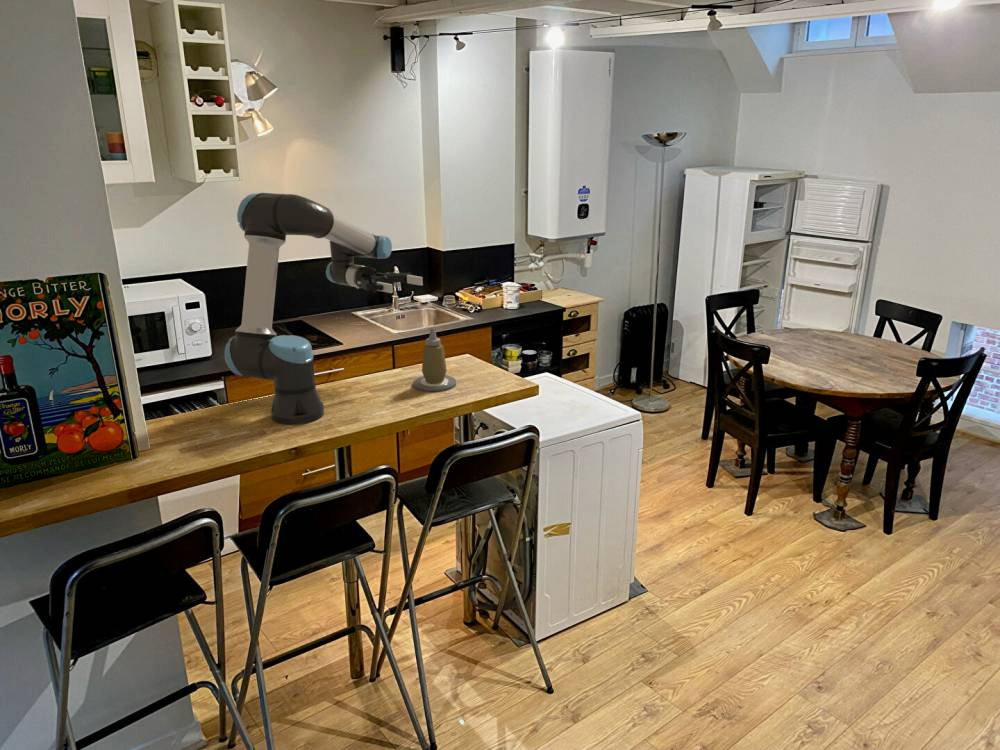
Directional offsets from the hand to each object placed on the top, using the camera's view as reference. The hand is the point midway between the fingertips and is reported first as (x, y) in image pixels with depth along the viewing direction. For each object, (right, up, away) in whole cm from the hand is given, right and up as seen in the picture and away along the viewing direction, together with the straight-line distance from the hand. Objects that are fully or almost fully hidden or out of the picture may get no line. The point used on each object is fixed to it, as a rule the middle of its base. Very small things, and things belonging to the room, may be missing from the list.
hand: (407, 285), depth 243 cm
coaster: (+9, -32, +5) cm, 34 cm away
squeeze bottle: (+9, -31, +5) cm, 33 cm away
